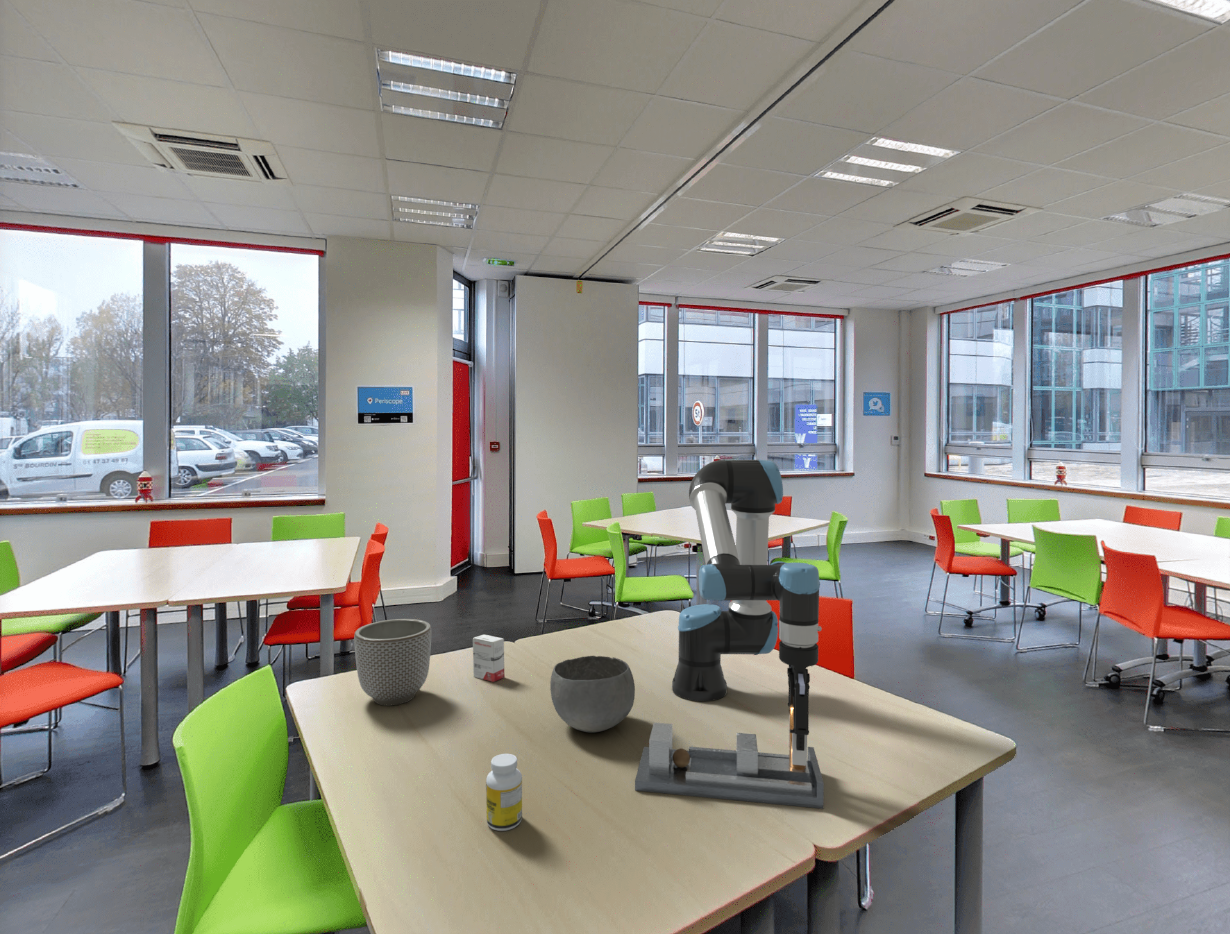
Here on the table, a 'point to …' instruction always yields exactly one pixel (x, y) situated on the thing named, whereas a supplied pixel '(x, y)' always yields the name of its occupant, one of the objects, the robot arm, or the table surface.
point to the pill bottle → (504, 793)
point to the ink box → (488, 657)
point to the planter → (393, 659)
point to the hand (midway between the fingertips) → (797, 755)
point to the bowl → (592, 692)
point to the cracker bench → (720, 775)
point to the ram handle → (767, 760)
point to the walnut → (681, 758)
